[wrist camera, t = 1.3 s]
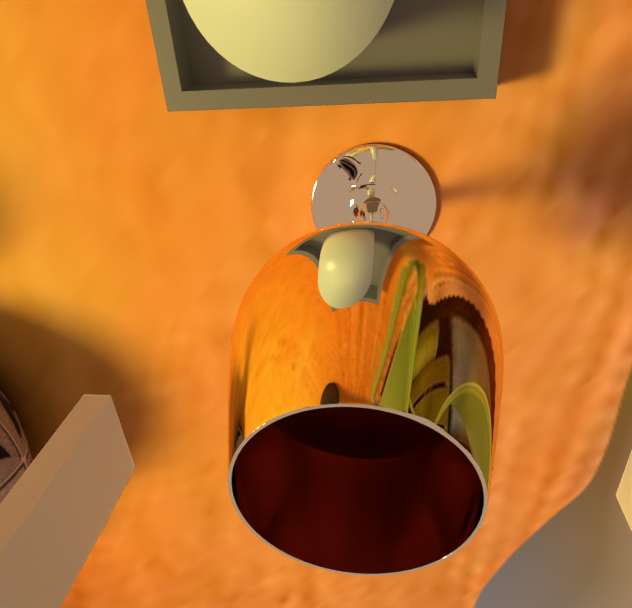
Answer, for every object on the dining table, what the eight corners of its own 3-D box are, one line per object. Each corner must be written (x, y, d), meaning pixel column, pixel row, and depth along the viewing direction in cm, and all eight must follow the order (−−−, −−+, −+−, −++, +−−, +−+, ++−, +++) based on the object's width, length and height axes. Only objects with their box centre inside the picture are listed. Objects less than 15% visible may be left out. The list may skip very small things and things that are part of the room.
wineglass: (436, 101, 24) (521, 310, 8) (468, 256, 27) (568, 592, 12) (272, 153, 26) (106, 394, 11) (323, 290, 30) (255, 611, 14)
